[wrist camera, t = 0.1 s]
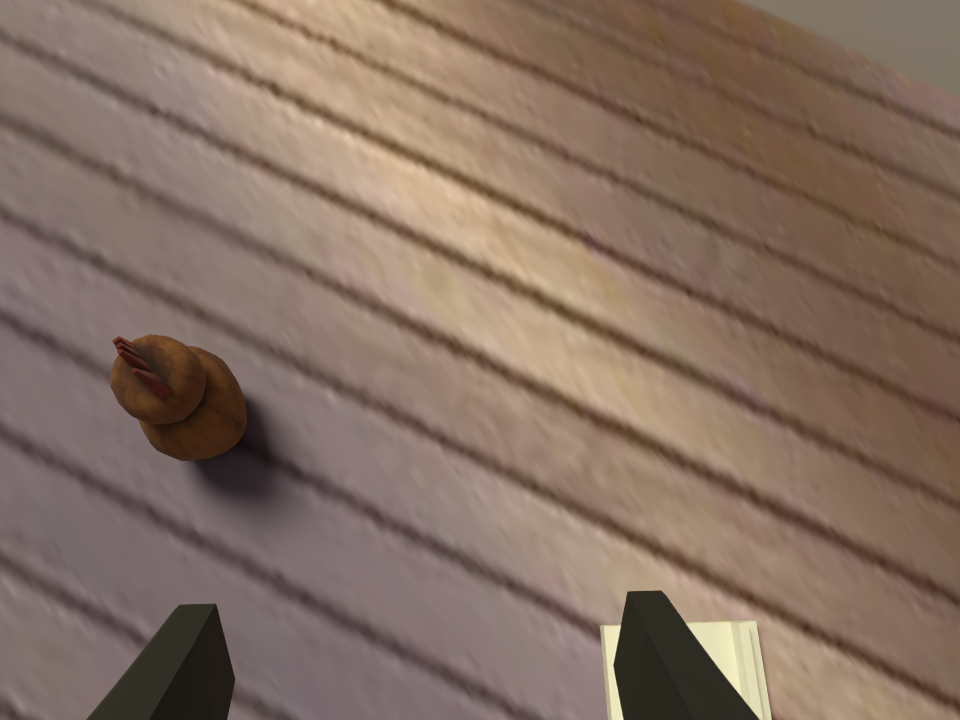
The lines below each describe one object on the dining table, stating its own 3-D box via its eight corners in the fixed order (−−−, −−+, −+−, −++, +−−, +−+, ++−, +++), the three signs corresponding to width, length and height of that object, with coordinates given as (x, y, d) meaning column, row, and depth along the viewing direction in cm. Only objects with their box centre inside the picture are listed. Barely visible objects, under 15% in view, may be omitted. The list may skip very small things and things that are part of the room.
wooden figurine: (268, 451, 44) (189, 386, 30) (183, 481, 43) (59, 428, 29) (243, 364, 46) (157, 265, 32) (161, 391, 45) (36, 300, 31)
